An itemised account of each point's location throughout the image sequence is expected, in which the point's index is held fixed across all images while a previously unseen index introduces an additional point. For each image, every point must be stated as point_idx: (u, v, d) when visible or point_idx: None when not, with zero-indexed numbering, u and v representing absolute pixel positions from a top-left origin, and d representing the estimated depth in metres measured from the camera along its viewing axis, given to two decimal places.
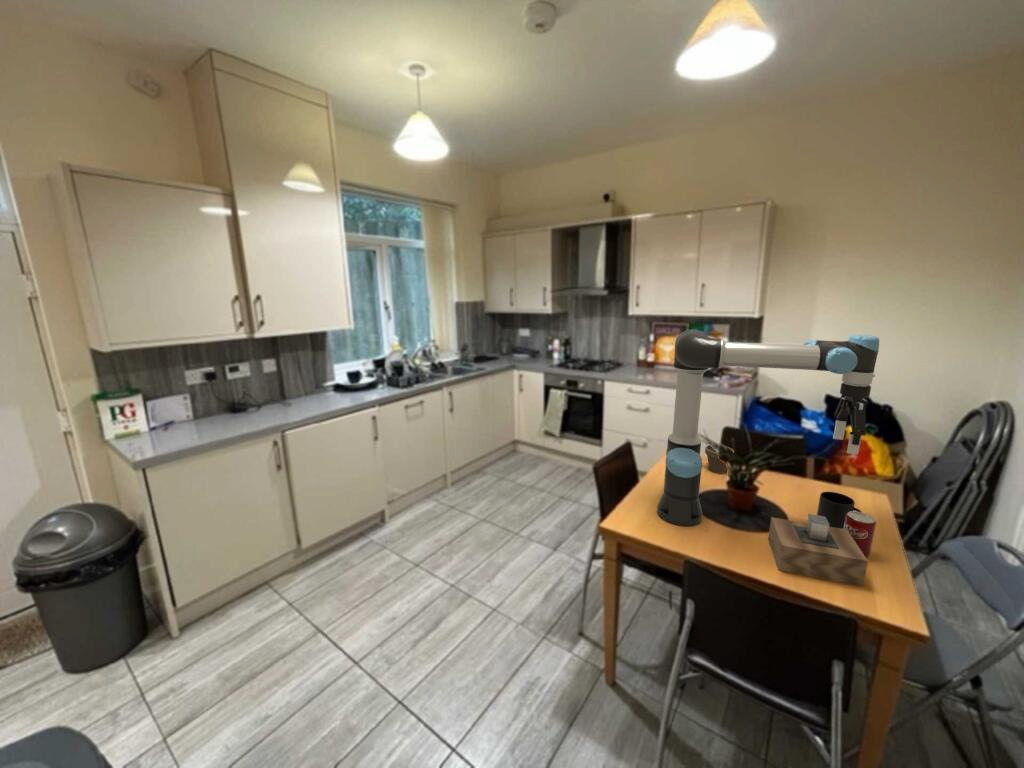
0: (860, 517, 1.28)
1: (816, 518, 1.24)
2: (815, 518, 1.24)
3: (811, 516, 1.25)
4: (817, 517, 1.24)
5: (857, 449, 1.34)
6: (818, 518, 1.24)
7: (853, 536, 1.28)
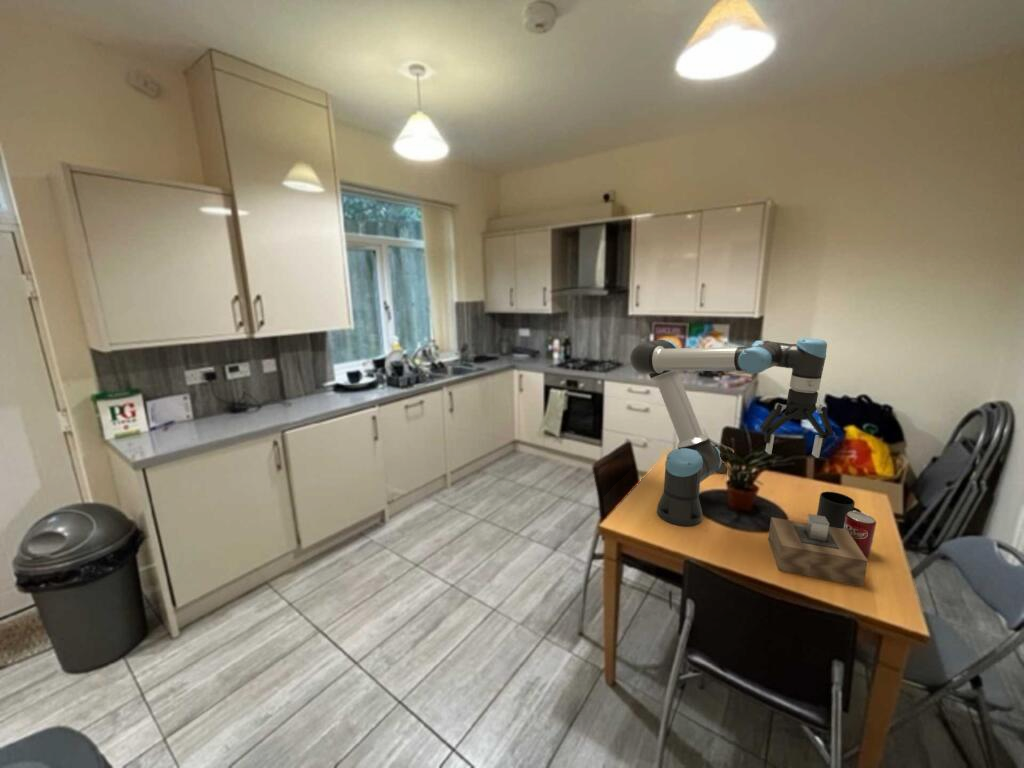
0: (860, 517, 1.28)
1: (816, 518, 1.24)
2: (815, 518, 1.24)
3: (811, 516, 1.25)
4: (817, 517, 1.24)
5: (769, 448, 1.35)
6: (818, 518, 1.24)
7: (853, 536, 1.28)
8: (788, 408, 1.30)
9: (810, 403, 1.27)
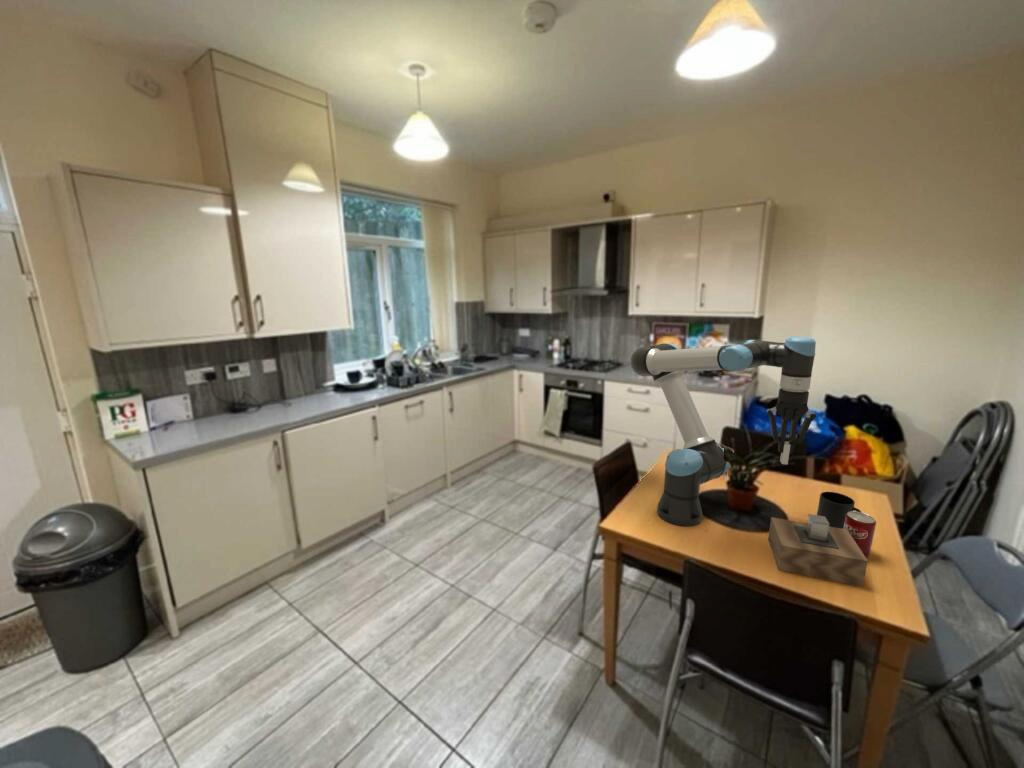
0: (860, 517, 1.28)
1: (816, 518, 1.24)
2: (815, 518, 1.24)
3: (811, 516, 1.25)
4: (817, 517, 1.24)
5: (782, 458, 1.31)
6: (818, 518, 1.24)
7: (853, 536, 1.28)
8: (778, 407, 1.29)
9: (798, 402, 1.24)
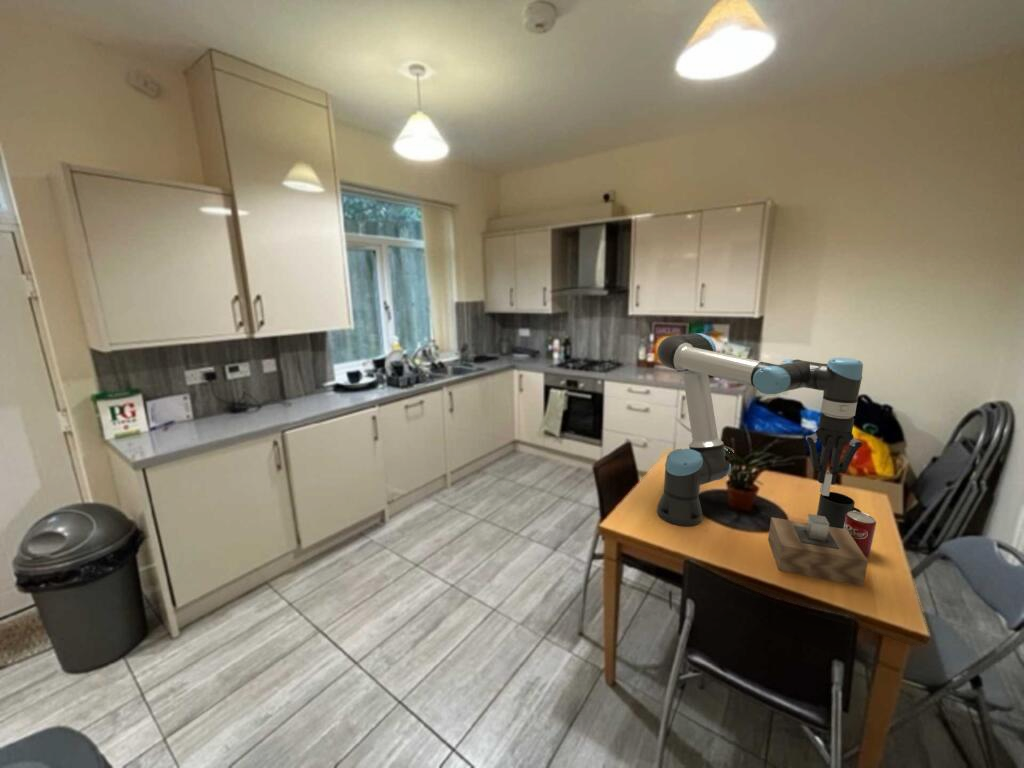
0: (860, 517, 1.28)
1: (816, 518, 1.24)
2: (815, 518, 1.24)
3: (811, 516, 1.25)
4: (817, 517, 1.24)
5: (823, 489, 1.21)
6: (818, 518, 1.24)
7: (853, 536, 1.28)
8: (819, 434, 1.18)
9: (843, 430, 1.13)
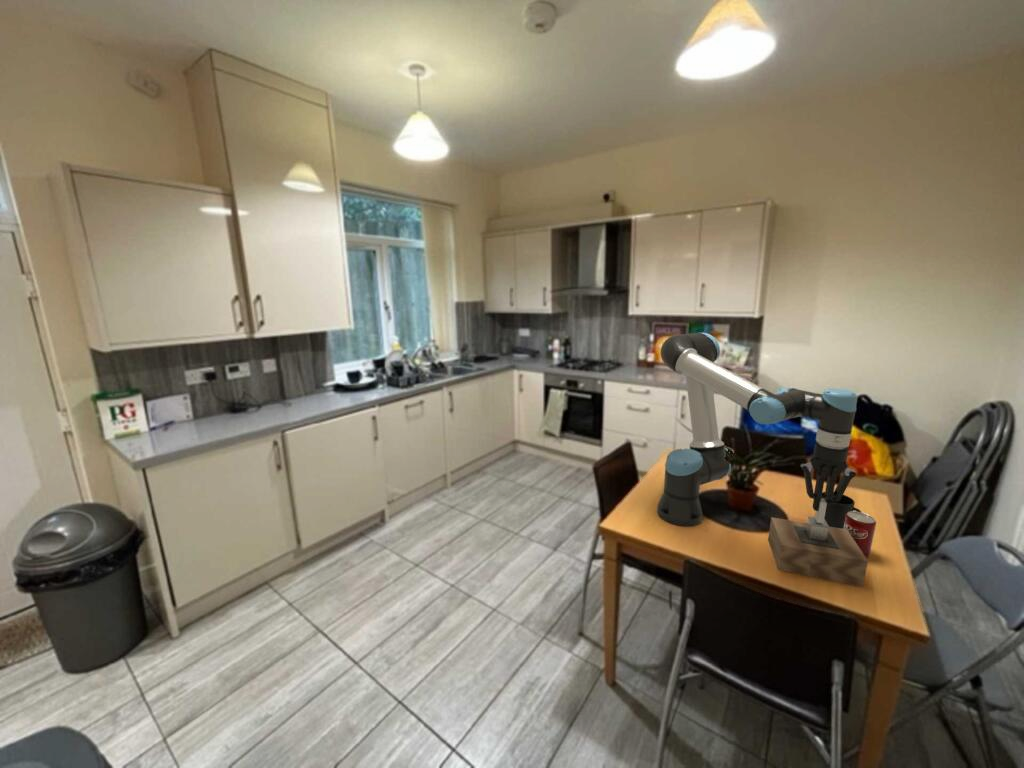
0: (860, 517, 1.28)
1: (815, 521, 1.24)
2: (815, 520, 1.24)
3: (811, 518, 1.25)
4: None
5: (817, 516, 1.23)
6: None
7: (853, 536, 1.28)
8: (813, 463, 1.20)
9: (837, 460, 1.16)
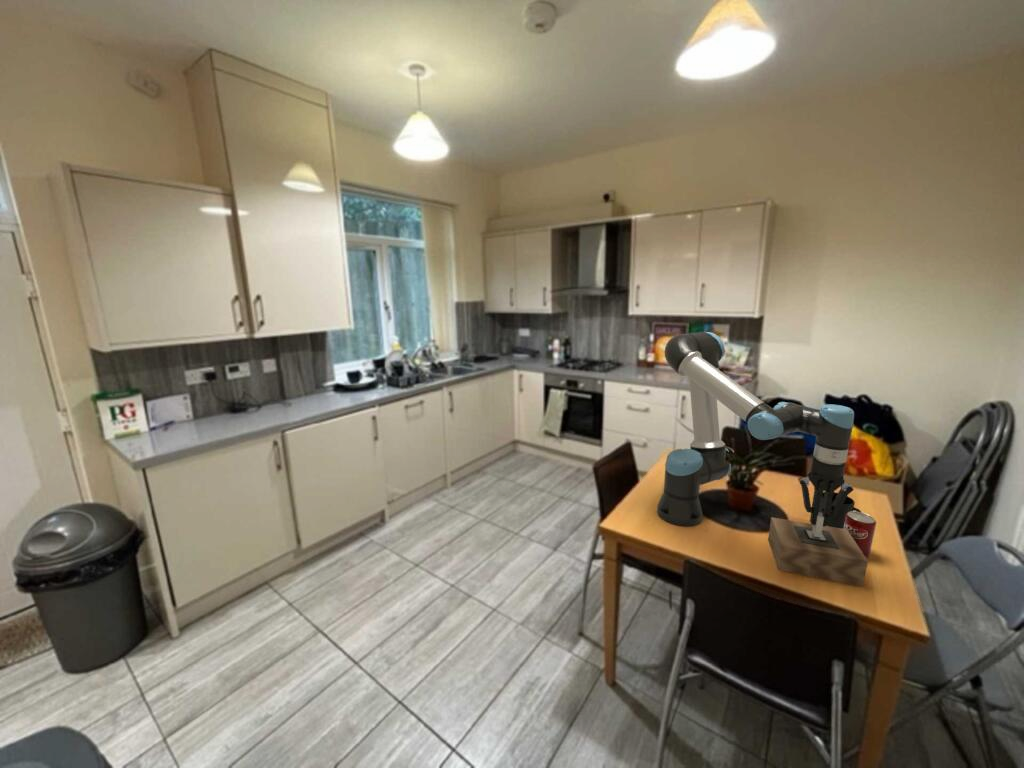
0: (860, 517, 1.28)
1: (813, 535, 1.25)
2: (812, 534, 1.25)
3: (808, 532, 1.26)
4: None
5: (815, 530, 1.24)
6: None
7: (853, 536, 1.28)
8: (811, 478, 1.21)
9: (834, 476, 1.17)
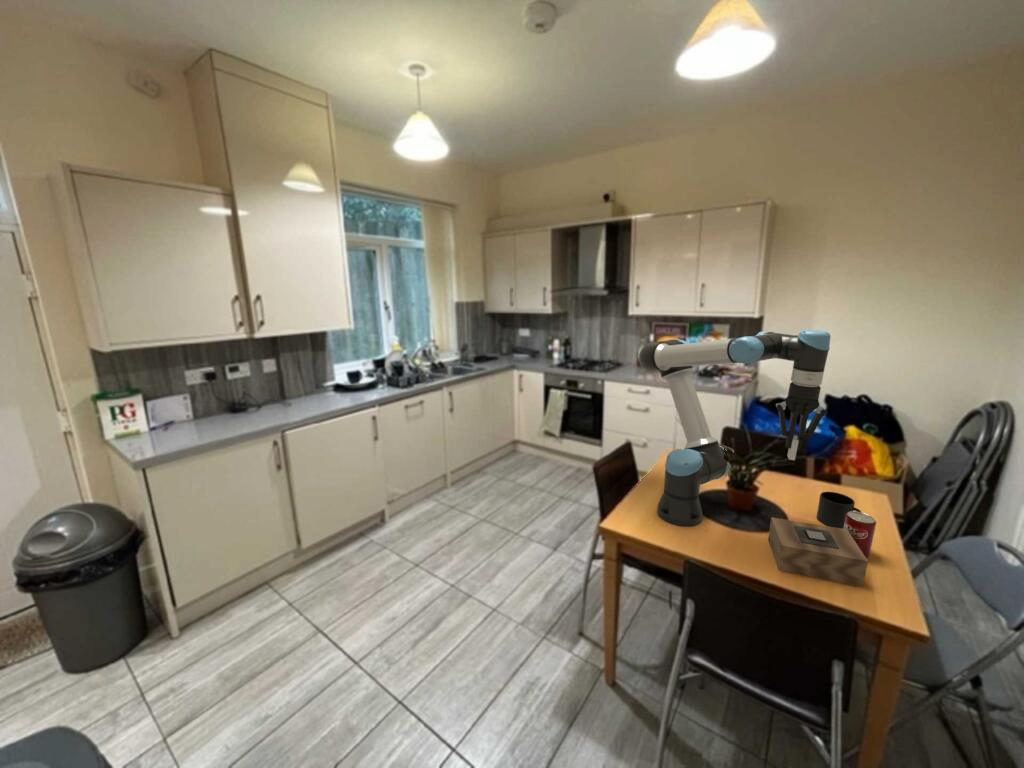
0: (860, 517, 1.28)
1: (813, 535, 1.25)
2: (812, 534, 1.25)
3: (808, 532, 1.26)
4: (814, 533, 1.26)
5: (789, 454, 1.29)
6: (815, 534, 1.25)
7: (853, 536, 1.28)
8: (787, 402, 1.25)
9: (809, 397, 1.21)
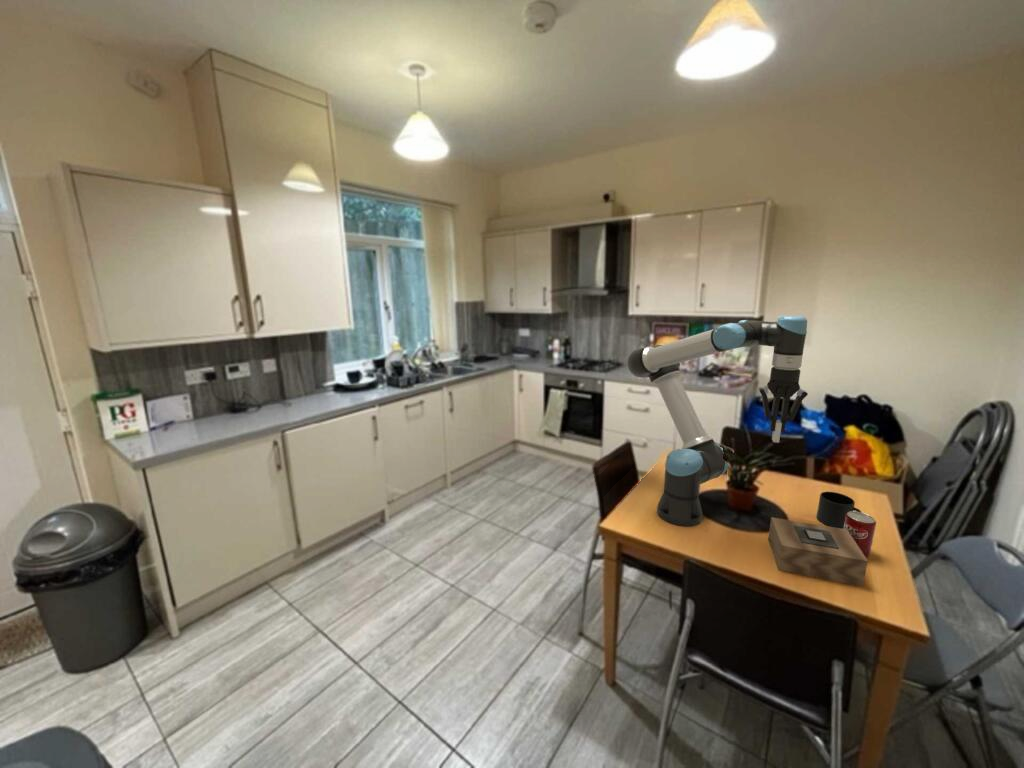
0: (860, 517, 1.28)
1: (813, 535, 1.25)
2: (812, 534, 1.25)
3: (808, 532, 1.26)
4: (814, 533, 1.26)
5: (774, 436, 1.33)
6: (815, 534, 1.25)
7: (853, 536, 1.28)
8: (769, 386, 1.30)
9: (790, 380, 1.26)
